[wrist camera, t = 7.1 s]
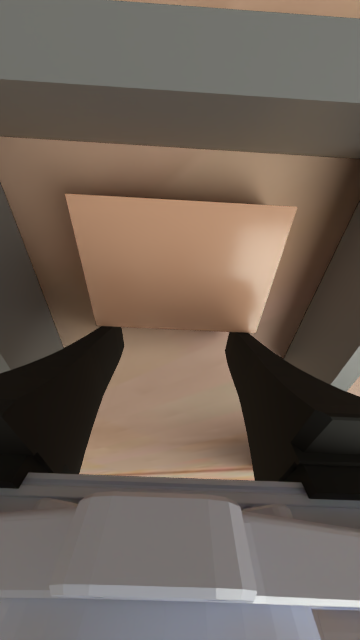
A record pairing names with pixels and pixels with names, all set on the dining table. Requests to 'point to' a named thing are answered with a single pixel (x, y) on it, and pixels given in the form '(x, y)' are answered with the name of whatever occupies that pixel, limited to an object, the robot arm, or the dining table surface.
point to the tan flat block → (178, 260)
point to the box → (182, 126)
